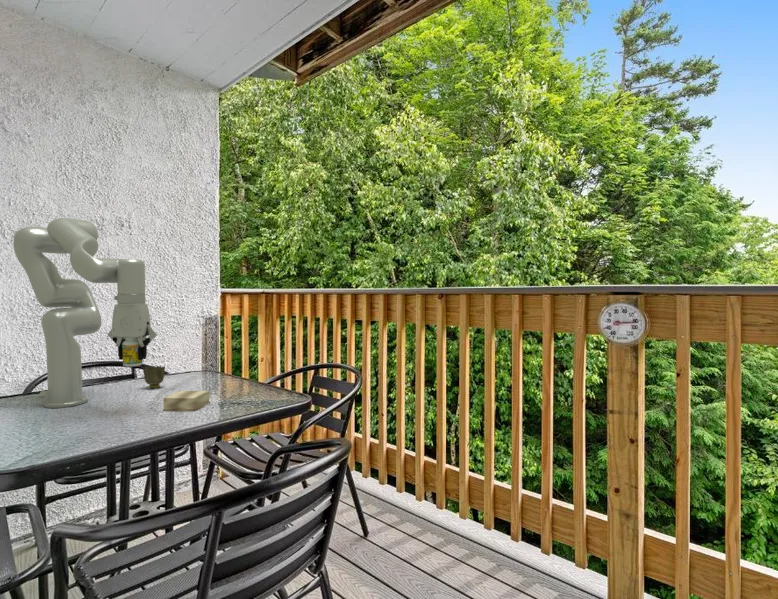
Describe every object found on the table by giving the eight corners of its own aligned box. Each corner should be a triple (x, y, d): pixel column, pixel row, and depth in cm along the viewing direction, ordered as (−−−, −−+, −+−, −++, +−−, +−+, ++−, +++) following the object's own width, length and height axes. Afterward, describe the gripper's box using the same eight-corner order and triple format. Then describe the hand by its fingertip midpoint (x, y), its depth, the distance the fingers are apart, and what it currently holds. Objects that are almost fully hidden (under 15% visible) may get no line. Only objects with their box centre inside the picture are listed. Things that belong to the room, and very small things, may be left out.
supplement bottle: (146, 364, 154) (145, 333, 154) (132, 367, 149) (132, 335, 148) (132, 363, 156) (132, 332, 155) (118, 366, 151) (117, 334, 150)
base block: (162, 411, 154) (162, 398, 154) (179, 402, 164) (179, 390, 164) (195, 411, 153) (195, 398, 153) (210, 403, 163) (209, 390, 163)
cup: (159, 390, 184) (159, 368, 183) (139, 390, 184) (139, 368, 184) (168, 386, 191) (168, 365, 191) (149, 386, 191) (149, 365, 191)
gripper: (96, 300, 148) (97, 360, 149) (152, 300, 147) (152, 361, 148) (112, 299, 156) (113, 356, 157) (165, 299, 155) (166, 357, 155)
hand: (132, 358), depth 152 cm, fingers closed on supplement bottle, 5 cm apart
